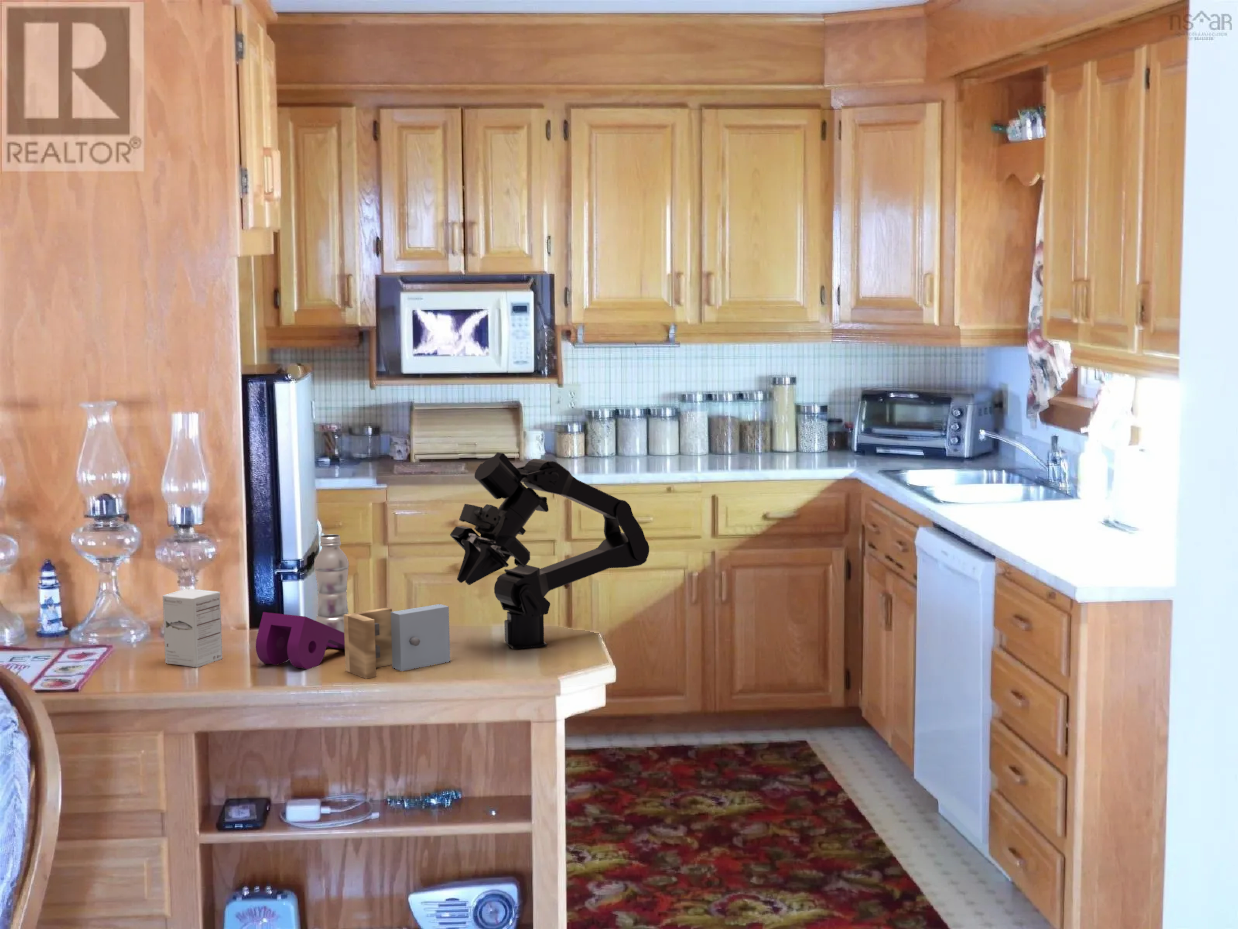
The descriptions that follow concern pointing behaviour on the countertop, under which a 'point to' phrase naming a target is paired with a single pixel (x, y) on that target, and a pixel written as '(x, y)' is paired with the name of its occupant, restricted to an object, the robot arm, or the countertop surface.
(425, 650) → the pale grey oblong block
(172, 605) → the supplement box
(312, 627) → the mounting bracket
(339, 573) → the plastic bottle
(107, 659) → the countertop surface
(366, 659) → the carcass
